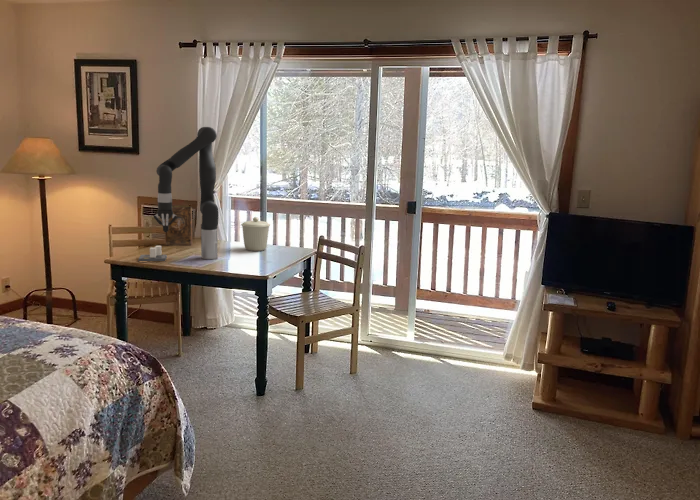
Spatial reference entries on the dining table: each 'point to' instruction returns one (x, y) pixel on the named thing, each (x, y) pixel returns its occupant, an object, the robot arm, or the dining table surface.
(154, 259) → the switch board
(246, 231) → the canister
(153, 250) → the tab
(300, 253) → the dining table surface
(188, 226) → the book
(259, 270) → the dining table surface
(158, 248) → the tab
